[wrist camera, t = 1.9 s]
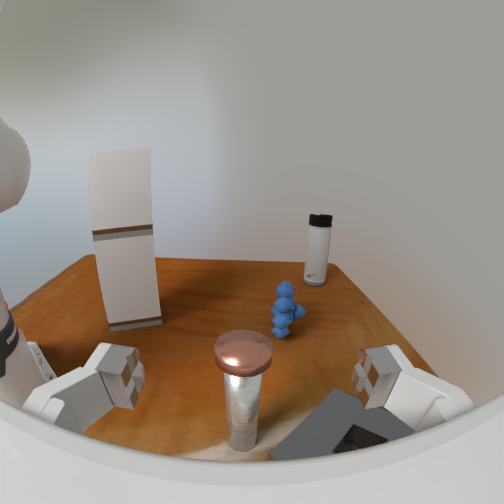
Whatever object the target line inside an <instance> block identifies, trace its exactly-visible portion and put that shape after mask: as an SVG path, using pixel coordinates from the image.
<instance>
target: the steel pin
mask: <svg viewBox="0 0 504 504" xmlns="http://www.w3.org/2000/svg"><path fill="white" fill-rule="evenodd" d="M214 352H215V362H216V365H217V366H218V368H219V369H220V370H222V371H223V372H224V380H225V401H226V420H227V437H228V444H229V446H230V447H231V448H232V449H234V450H236V451H240V452H245V451H249V450H251V449H252V448H253V447H254V446H255V444H256V437H257V426H258V415H259V403H260V391H261V379H262V373H263V372H265V371H266V370H267V369H268V368H269V367H270V365H271V362H272V353H273V345H272V342H271V340H270V339H269V338H268V337H267V336H265V335H263V334H262V333H259V332H256V331H252V330H233V331H229V332H226V333H224V334H222V335H221V336H220V337H218V338H217V340H216V341H215V344H214Z"/></svg>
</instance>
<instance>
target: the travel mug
mask: <svg viewBox="0 0 504 504" xmlns="http://www.w3.org/2000/svg"><path fill="white" fill-rule="evenodd" d="M309 220H310V221H309V228H308V239H307V251H306V260H305V270H304V279H303V281H304V283H306V284H307V285H310V286H321V285H323V284H324V283H325V277H326V270H327V262H328V255H329V246H330V237H331V228H332V224H331V223H332V216H331V215H322V214H321V215H314V214H310V219H309Z"/></svg>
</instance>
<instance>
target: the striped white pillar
mask: <svg viewBox="0 0 504 504" xmlns="http://www.w3.org/2000/svg"><path fill="white" fill-rule="evenodd" d="M89 196H90V211H91V222H92V232H93V241H94V249H95V256H96V263H97V269H98V275H99V280H100V286H101V291H102V296H103V301H104V305H105V310H106V314H107V318H108V322H109V326H110V330H111V332H113V331H120V330H127V329H134V328H141V327H147V326H154V325H160V324H163V323H162V317H161V309H160V302H159V294H158V285H157V276H156V266H155V255H154V242H153V225H152V206H151V205H152V204H151V148H132V149H118V150H108V151H97V152H89Z"/></svg>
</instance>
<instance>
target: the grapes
mask: <svg viewBox="0 0 504 504" xmlns="http://www.w3.org/2000/svg"><path fill="white" fill-rule="evenodd" d="M276 293H277V296H278V299H277V301H276V302H275V303H274V306H273V307H272V308H271V309H270V310H271V311H272V313H273V314H274V315H275V317H274V318H273V319H272V322H273V323H274V325H275V327H274V328H273V329H272V330H271V331H272V332H273V334H274V335H275V336H276V337H277V338H279V339H282V338H284V337H286V336H287V335H288V334H289V333H290V331H289V330H288V325H289V324H291V323H292V322H293V320H292V319H293V318H294V319H297V320H298V319H300V318H302V317H303V316H304V315H305V314H306V311H305V310H304V308H303V307H302V306H301V305H299V304H296V305H295V300H294V299H293V297H294V296H293V294H294V288H293V286H292V285H291V283H290V282H288V281H283V282H282V283H281V284H280V285H279V286H278V287H277V289H276Z"/></svg>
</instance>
